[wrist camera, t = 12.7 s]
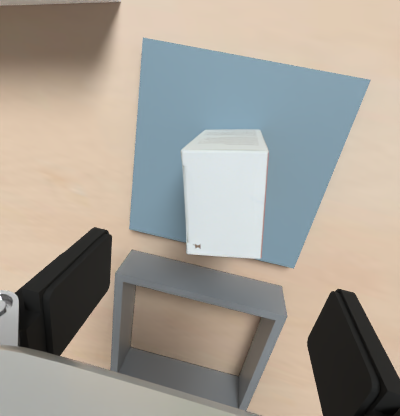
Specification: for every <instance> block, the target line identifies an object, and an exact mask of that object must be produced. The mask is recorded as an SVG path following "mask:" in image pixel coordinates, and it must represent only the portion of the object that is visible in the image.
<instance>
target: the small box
mask: <svg viewBox="0 0 400 416" xmlns="http://www.w3.org/2000/svg"><path fill="white" fill-rule="evenodd" d="M181 159H182V169H183V182H184V199H185V217H186V253H187V254H192V255H206V256H221V257H235V258H252V259H261V258H262V244H263V231H264V217H265V203H266V188H267V174H268V160H269V150H268V148H267V145H266V143H265V140H264V138H263V135H262V133H261V130H259V129H219V130H204V131H203V132H202V133H201V134H199V135H198V136H197V137H196V138H194V139H193V140H192V141H191V142H190V143H189V144H187V145H186V146H185V147H184V148H183V149H182V150H181Z"/></svg>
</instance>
